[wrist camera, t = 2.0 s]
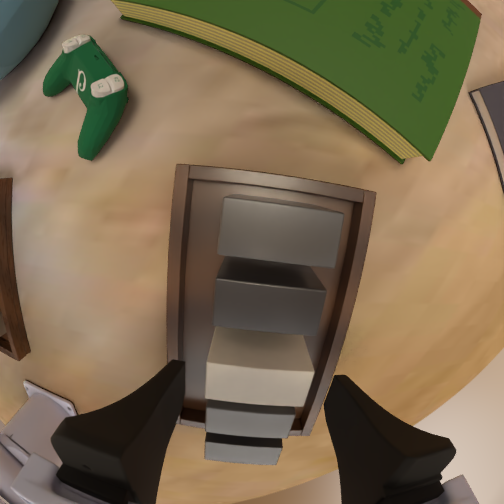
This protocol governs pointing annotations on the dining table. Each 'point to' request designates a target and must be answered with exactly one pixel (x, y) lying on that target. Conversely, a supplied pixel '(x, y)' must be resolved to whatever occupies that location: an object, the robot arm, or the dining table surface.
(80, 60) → the gaming controller
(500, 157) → the notebook
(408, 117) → the hardcover book
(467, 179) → the dining table surface
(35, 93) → the dining table surface
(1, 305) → the brown wooden tray
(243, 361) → the cream rectangular block
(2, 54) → the vase
